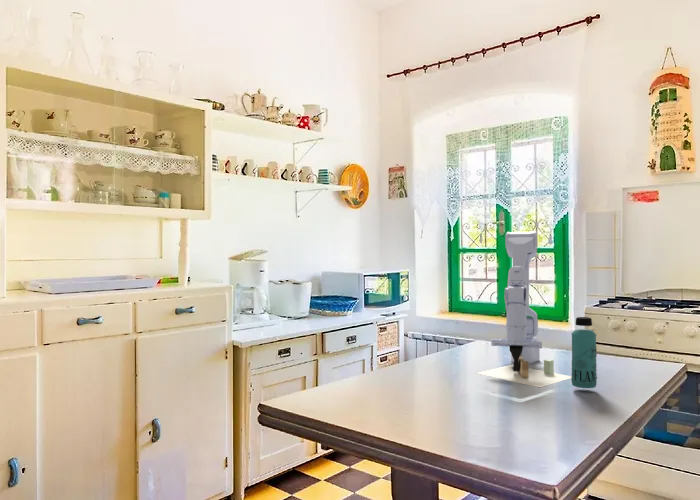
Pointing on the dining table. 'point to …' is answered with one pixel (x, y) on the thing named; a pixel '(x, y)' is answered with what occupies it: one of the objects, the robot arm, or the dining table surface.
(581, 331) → the beverage bottle
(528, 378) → the board
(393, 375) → the dining table surface
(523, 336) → the robot arm
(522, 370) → the tan wooden bar
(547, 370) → the latch post
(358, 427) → the dining table surface
